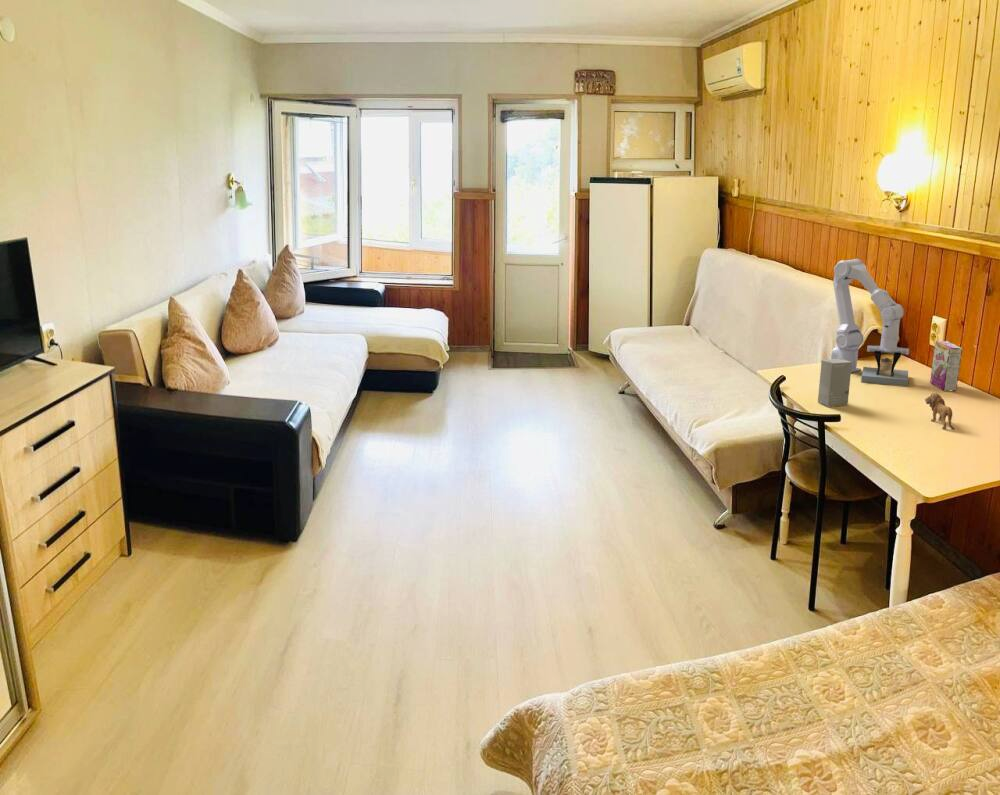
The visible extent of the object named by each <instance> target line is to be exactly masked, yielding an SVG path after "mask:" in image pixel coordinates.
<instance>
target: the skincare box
mask: <svg viewBox="0 0 1000 795" xmlns="http://www.w3.org/2000/svg"><path fill="white" fill-rule="evenodd" d="M820 361H821V362H820V363H821V364H820V375H819V385H818V386H819V387H818V396H817V403H819V404H822V405H823V406H826V407H827V408H832V406H834V407H841V406H840V405H842V406H848V402H849V395H850V386H851V385H850V384H851V375H852V374H851V367H852V362H850V361H847V360H843V359H831V358H829V359H827V358H826V359H821V360H820Z"/></svg>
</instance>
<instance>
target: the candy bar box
mask: <svg viewBox="0 0 1000 795" xmlns="http://www.w3.org/2000/svg"><path fill="white" fill-rule="evenodd" d="M934 342H935V343H934V348H933V355H932V356H933V358H932V365H931V373H930V381H929V383H930V384H931V383H932V384H931V385H933V386H935V387H936V386H937V388H938V387H939V388H938V389H939V390H941V389H942V391H943V390H944V391H943V392H950V391H949V390H956V391H957V388H958V382H959V375H960V368H961V367H960V366H961V361H962V354H963V348H962V347H960V346H958V345H956V344H954V343H952V342H950V341H949V340H936V341H934Z"/></svg>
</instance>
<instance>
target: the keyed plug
mask: <svg viewBox="0 0 1000 795" xmlns="http://www.w3.org/2000/svg"><path fill="white" fill-rule="evenodd" d="M892 363H893V358H889V357H885V358H884V357H881V360H880V372H879V375H881V376H891V369H892Z"/></svg>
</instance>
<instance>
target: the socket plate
mask: <svg viewBox="0 0 1000 795" xmlns="http://www.w3.org/2000/svg"><path fill="white" fill-rule="evenodd" d="M879 372H880V371H878V367H871V366H870V367H869V366H863V369H862V372H861V379H860V380H861V381H860V383H866V382H869V383H868V384H877V383H880V384H879V385H888V386H900V387H908V384H909V370H905V369H894V370H893V372H891V376H881V375H879Z"/></svg>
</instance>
